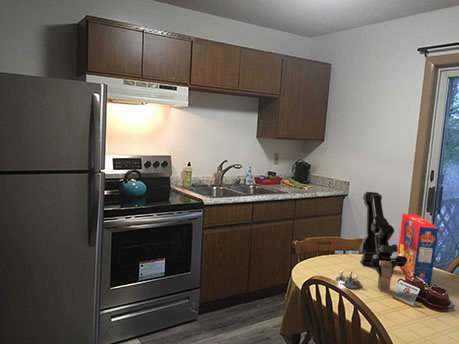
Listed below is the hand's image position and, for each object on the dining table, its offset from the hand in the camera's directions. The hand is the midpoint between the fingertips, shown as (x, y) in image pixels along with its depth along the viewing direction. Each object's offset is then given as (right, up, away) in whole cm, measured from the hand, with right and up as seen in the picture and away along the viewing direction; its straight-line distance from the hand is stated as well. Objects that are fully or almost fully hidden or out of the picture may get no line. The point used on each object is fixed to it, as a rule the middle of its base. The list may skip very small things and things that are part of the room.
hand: (385, 276), depth 165 cm
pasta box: (+24, -6, +24) cm, 34 cm away
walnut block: (0, -6, +2) cm, 7 cm away
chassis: (-15, -5, +6) cm, 17 cm away
